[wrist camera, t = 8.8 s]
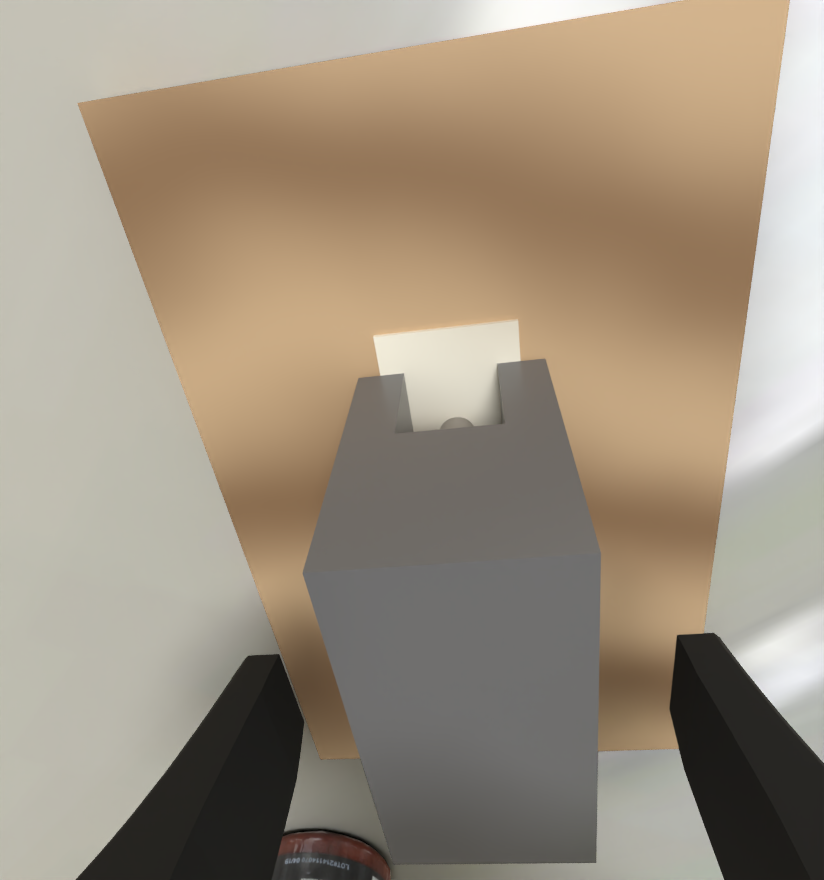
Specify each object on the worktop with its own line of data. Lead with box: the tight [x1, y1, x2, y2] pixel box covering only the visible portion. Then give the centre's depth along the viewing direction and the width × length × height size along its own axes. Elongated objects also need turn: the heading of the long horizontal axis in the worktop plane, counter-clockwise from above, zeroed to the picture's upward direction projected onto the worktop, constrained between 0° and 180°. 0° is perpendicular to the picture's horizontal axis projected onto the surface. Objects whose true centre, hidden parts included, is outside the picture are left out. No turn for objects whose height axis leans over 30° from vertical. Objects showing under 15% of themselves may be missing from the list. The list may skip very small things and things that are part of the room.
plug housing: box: [303, 359, 601, 864], centre depth 13 cm, size 8×4×6 cm, turn 8°
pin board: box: [78, 0, 790, 760], centre depth 15 cm, size 20×12×3 cm, turn 8°
